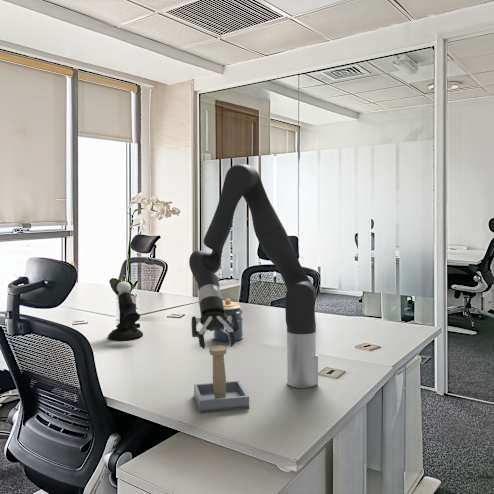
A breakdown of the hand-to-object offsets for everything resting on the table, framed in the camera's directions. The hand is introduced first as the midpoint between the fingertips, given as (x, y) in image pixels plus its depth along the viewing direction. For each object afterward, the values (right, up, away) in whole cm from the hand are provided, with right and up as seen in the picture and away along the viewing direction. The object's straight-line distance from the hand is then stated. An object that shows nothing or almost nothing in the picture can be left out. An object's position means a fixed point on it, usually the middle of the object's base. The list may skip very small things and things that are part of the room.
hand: (217, 346), depth 152 cm
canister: (+1, -11, +72) cm, 72 cm away
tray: (+1, -16, -3) cm, 16 cm away
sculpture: (-44, -11, +73) cm, 86 cm away
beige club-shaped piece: (+1, -15, -3) cm, 15 cm away
